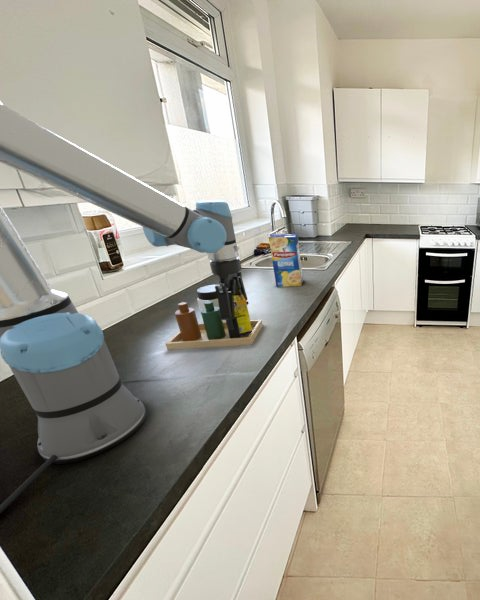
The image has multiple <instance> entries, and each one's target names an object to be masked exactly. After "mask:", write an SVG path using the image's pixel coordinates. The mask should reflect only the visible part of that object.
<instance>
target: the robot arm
mask: <svg viewBox="0 0 480 600" xmlns="http://www.w3.org/2000/svg"><path fill="white" fill-rule="evenodd" d="M0 163H1V164H3V165H5V166H8V167H10V168H12V169H14V170H16V171H19V172H21V173H23V174H25V175H26V176H27V175H28V176H30V177H32V178H34V179H36V180H38V181H40V182H43V183H46V184H47V185H49V186H51V187H54V188H56V189H59V190H61V191H63V192H65V193H67V194H70V195H72V196H74V197H76V198H78V199H80V200H83V201H85V202H88V203H89V204H92V205H94V206H97V207H98V208H100V209H103V210H104V211H107V212H110V213H112V214H114V215H116V216H118V217H120V218H123V219H125V220H127V221H130V222H132V223H134V224H136V225H139V226H141V227H142V230H143V234H144V236H145V238H146V240H147V242H149V244H151V245H152V246H153V247H155V248H156V247H157V248H159V247H169V246H173V245H174V246H179V247H182V248H187V249H191V250H194V251H196V252H198V253H202V254H203V253H206V255H207V259H208V260H210V261H209V266H210V270H211V273H212V275H214V276H218V279H219V282H218V283H219V284H218V285H216V284H215V285H216V286H215V290H216V292H217V297H218V303H219V309H220V315H221V320H226V323H227V327H228V332H229V336H230V339H231V338H240V337H241V336H240V331H239V327H238V322H237V317H235V314H234V296H235V295H242V294H243V296H244V297H245V299H246V302H247V306H248V305H249V300H248V296H247V291H246V288H245V284H244V280H243V275H242V272H241V271H242V270H243V269H242V264H241V259H240V257H239V255H240V254H239V250H240V246H239V245H238V244H237V239H236V234H235V228H234V223H233V216H232V213H231V208H230V205H229V203H228V202H227V201H225V200H221V199H220V200H219V199H217V200H216V199H214V200H213V199H211V200H210V199H208V200H198V201H196V202H195V209H191V208H189V207H187V206H185V205H183V204H182V203H180V202H178V201H177V200H175V199H173V198H171V197H170V196H168V195H165V194H164V193H163V192H160V191H158V190H157V189H155V188H153V187H151V186H149V185H148V184H146V183H144V182H142V181H141V180H139V179H137V178H135V177H134V176H132V175H130V174H128V173H127V172H124V171H123V170H121V169H120V168H117V167H115V166H113V165H112V164H110V163H108V162H106V161H105V160H103V159H101V158H100V157H98V156H96V155H94V154H92V153H90V152H88V151H87V150H86V149H83V148H81V147H79V146H78V145H76V144H75V143H72V142H70V141H69V140H67V139H65V138H63V137H62V136H60V135H59V134H56V133H55V132H53V131H51V130H49V129H47V128H46V127H44V126H42V125H40V124H39V123H36V122H35V121H33V120H32V119H30V118H28V117H26V116H24V115H22V114H20V113H18V112H17V111H16V110H13V109H11V108H9V107H8V106H6V105H4V103H3V102H1V101H0ZM72 301H73V300H72V299H71V298H70V296H69V295H68V293H67V292H65V291H62V290H59V289H55V288H53V287H52V286H51V284H50V283H49V282H48V280H47V278H46V276H45V275H44V273H43V272H42V270H41V269H40V267H39V266H38V263H37V261H36V260H35V259H34V257H33V255H32V254H31V252H30V250H29V248H28V247H27V245H26V244H25V242H24V241H23V239H22V237H21V236H20V234H19V232H18V231H17V230H16V227H14V224H13V222H12V221H11V220H10V218H9V216H8V215H7V213H6V211H5V210H4V208H3V207H2V205H1V204H0V356H1V359H2V360H3V361H4V363H5V364H6V365H8V367H9V368H10V370H11V372H12V374H13V376H14V378H15V379H16V381H17V383H18V385H19V386H20V388H21V390H22V392H23V393H24V395H25V397H26V399H27V400H28V402H29V404H30V406H31V408H32V410H33V411H34V413H35V415H36V417H37V435H38V438H37V443H36V445H37V446H36V447H37V451H38V453H39V455H40V457H41V458H42V459H43V461H44V463H42V464H41V466H39V467H38V468H37V469H36V470H34V472H33V473H32V474H31V475H30V476H29V477H28V478H26V479H25V481H23V483H21V484H20V485H19V486H18V487H17V488H16V489H15V490H14V492H12V493H11V494H10V495H9V496H8V497H7V498H6V499H5V500H4V501H3V502H2V503H1V504H0V514H2V512H3V511H5V509H7V508H8V507H9V506H10V505H11V504H12V503H13V502H14V501H15V500H16V499H17V498H18V497H19V496H20V495H21V494H22V493H24V491H25V490H26V489H27V488H28V487H29V486H30V485H31V484H32V483H33V482H34V481H35V480H36V479H37V478H39V476H40V475H41V474H43V472H44V471H46V470H47V468H48V467H50V466H51V465H52V464H53V465H55V464H56V465H63V464H72V463H76V462H81V461H85V460H88V459H91V458H93V457H95V456H98V455H100V454H102V453H105V452H107V451H108V450H110V449H113V448H114V447H116V446H118V445H119V444H122V443H123V442H124V441H126V440H127V439H129V438H130V437H131V436H133V434H135V433H136V432H137V431H138V430H139V429H140V427H141V426H142V425H143V424H144V422H145V420H146V419H147V409H146V408H145V404H144V403H143V402H142V400H141V399H139V398H138V397H137V396H134V394H133V393H132V392H131V391H130V390H129V389H128V388H127V387H126V385H124V384H123V382H122V380H121V377H120V375H119V372H118V369H117V367H116V365H115V362H114V359H113V358H112V355H111V353H110V350H109V348H108V345H107V343H106V341H105V335H104V332H103V329H102V328H101V327H100V326H99V324H98V322H97V321H96V320H95V319H94V318H93V317H92V316H90V315H87V314H84V313H81V312H79V311H78V310H77V307H76V306H75V305H74V303H73V302H72Z"/></svg>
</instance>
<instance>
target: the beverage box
mask: <svg viewBox="0 0 480 600" xmlns="http://www.w3.org/2000/svg"><path fill="white" fill-rule="evenodd" d="M299 242H300V241H299V234H298V233H282V234H281V233H280V234H278V233H277V234H271V235H270V236H268V243H269V248H270V249H269V250H270V256H271V261H272V267H273V274H274V280H275V281H274V282H275V287H276V288H283V287H300V286H302V285H303V283H304V277H303V276H304V275H303V268H302V259H301V252H300V244H299Z"/></svg>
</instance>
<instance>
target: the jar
mask: <svg viewBox="0 0 480 600" xmlns="http://www.w3.org/2000/svg"><path fill="white" fill-rule="evenodd" d="M216 285H219V284H218V283H217V284H210V285H204V286H201V287H199V288H197V289H196V295H197V298H196V301H197V306H198V308H199V312H200V316H201V319H202V323H204V322H203V318H202V314H201V310H203V309H205V305H204V302H207V301H213V305H214V307H219V303H218V297H217V292H216V290H215V286H216ZM222 321H223V322H226V320H222Z"/></svg>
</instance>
